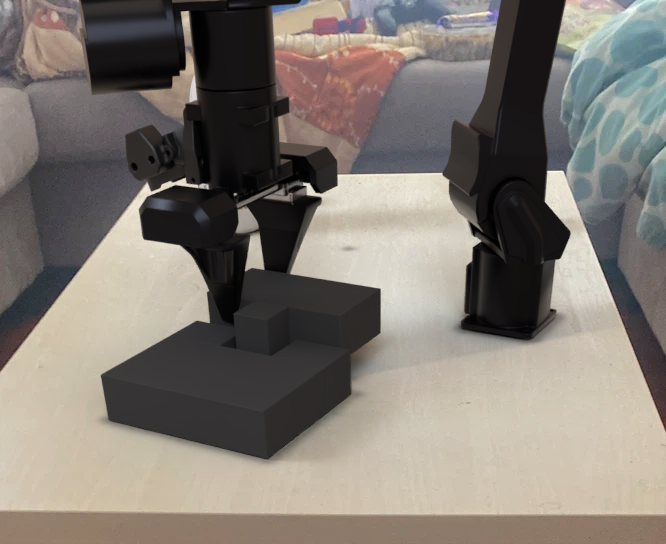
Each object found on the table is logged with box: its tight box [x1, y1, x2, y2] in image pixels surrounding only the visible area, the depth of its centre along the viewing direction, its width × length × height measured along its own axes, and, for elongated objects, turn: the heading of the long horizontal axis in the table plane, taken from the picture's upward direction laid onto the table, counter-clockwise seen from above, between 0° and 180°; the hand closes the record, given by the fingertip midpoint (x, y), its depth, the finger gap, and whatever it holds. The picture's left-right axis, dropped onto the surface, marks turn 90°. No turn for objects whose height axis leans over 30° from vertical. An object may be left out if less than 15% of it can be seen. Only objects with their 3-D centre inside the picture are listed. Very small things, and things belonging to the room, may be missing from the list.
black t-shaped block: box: [206, 267, 382, 356], centre depth 81 cm, size 12×10×4 cm
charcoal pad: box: [100, 320, 352, 460], centre depth 77 cm, size 14×12×4 cm
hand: (253, 308), depth 83 cm, fingers closed on black t-shaped block, 6 cm apart
